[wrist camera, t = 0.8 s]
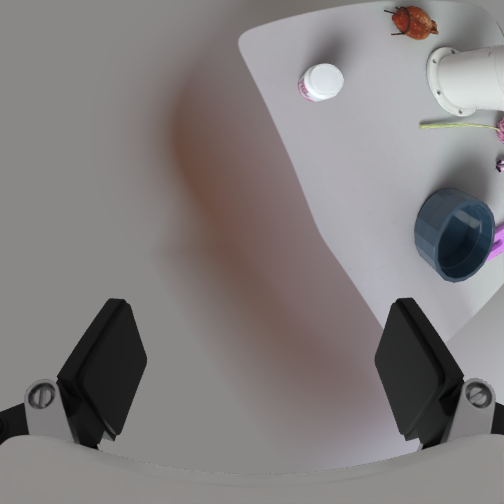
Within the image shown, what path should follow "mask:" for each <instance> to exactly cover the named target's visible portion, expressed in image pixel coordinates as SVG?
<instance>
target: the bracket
mask: <svg viewBox="0 0 504 504" xmlns="http://www.w3.org/2000/svg"><path fill="white" fill-rule="evenodd" d="M499 239H500V240H499ZM498 240H499V242H498V243H497V244H495V245H493V246H492V249H491V252H490V254H489V256H488V258H487V260H486V261H488V260H491V259H492V258H494V257H495V256H497V255H498V254H500V253H501V252H503V251H504V224H503V225H502V226H500V227H498V228H497V229H495V238H494V242H496V241H498Z"/></svg>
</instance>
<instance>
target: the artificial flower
mask: <svg viewBox="0 0 504 504" xmlns="http://www.w3.org/2000/svg"><path fill="white" fill-rule="evenodd" d="M503 119H504V117H503ZM503 119H502V120H503ZM497 123H498V122H497ZM460 126H477V127H487V128H493V129H496V130H497V137H498V138H499V139H500V141H501V142H502V143H503V144H504V120H503V121H500V123H498V127H496V128H495V127H492V126H486V125H479V124H471V123H463V124H420V125H419V127H420V129H423V128H438V127H460Z"/></svg>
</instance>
